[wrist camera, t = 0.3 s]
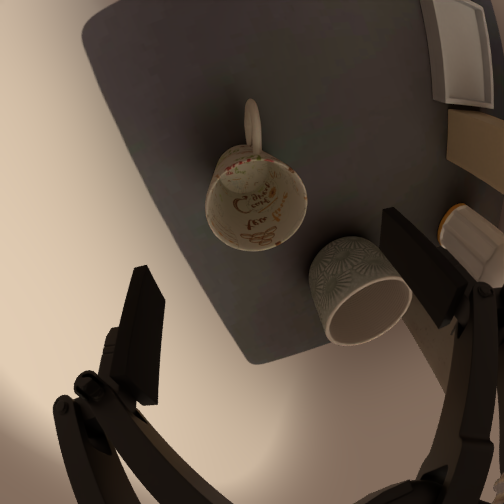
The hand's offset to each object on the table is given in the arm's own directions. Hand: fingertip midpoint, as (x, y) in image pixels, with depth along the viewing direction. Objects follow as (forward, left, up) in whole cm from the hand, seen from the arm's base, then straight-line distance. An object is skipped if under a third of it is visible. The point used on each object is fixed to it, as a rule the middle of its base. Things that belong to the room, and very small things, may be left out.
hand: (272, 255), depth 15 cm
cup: (+17, +36, -18) cm, 44 cm away
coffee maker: (-9, +34, -18) cm, 39 cm away
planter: (+18, +12, -18) cm, 29 cm away
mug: (-1, +1, -18) cm, 18 cm away
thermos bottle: (+28, +26, -18) cm, 42 cm away
